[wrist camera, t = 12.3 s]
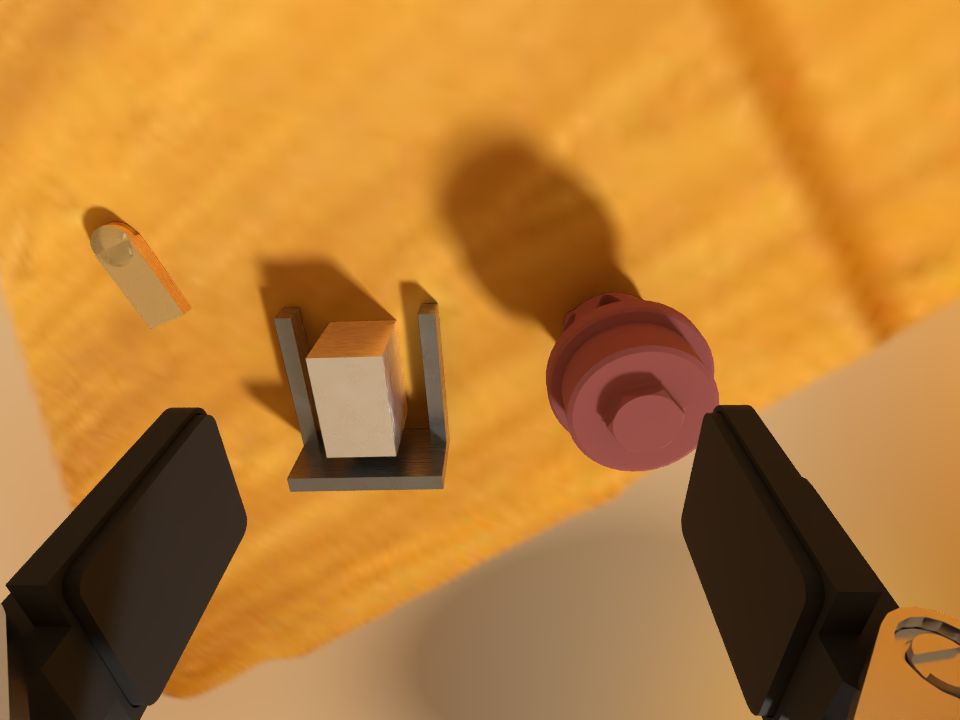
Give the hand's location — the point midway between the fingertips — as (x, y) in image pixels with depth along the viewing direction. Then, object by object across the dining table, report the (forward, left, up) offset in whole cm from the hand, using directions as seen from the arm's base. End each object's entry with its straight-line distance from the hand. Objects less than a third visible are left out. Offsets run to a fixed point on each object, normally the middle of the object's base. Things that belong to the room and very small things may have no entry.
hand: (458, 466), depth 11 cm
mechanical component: (+10, +9, -29) cm, 32 cm away
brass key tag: (+5, -24, -29) cm, 38 cm away
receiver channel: (+13, -9, -29) cm, 33 cm away
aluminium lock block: (+13, -9, -29) cm, 33 cm away
